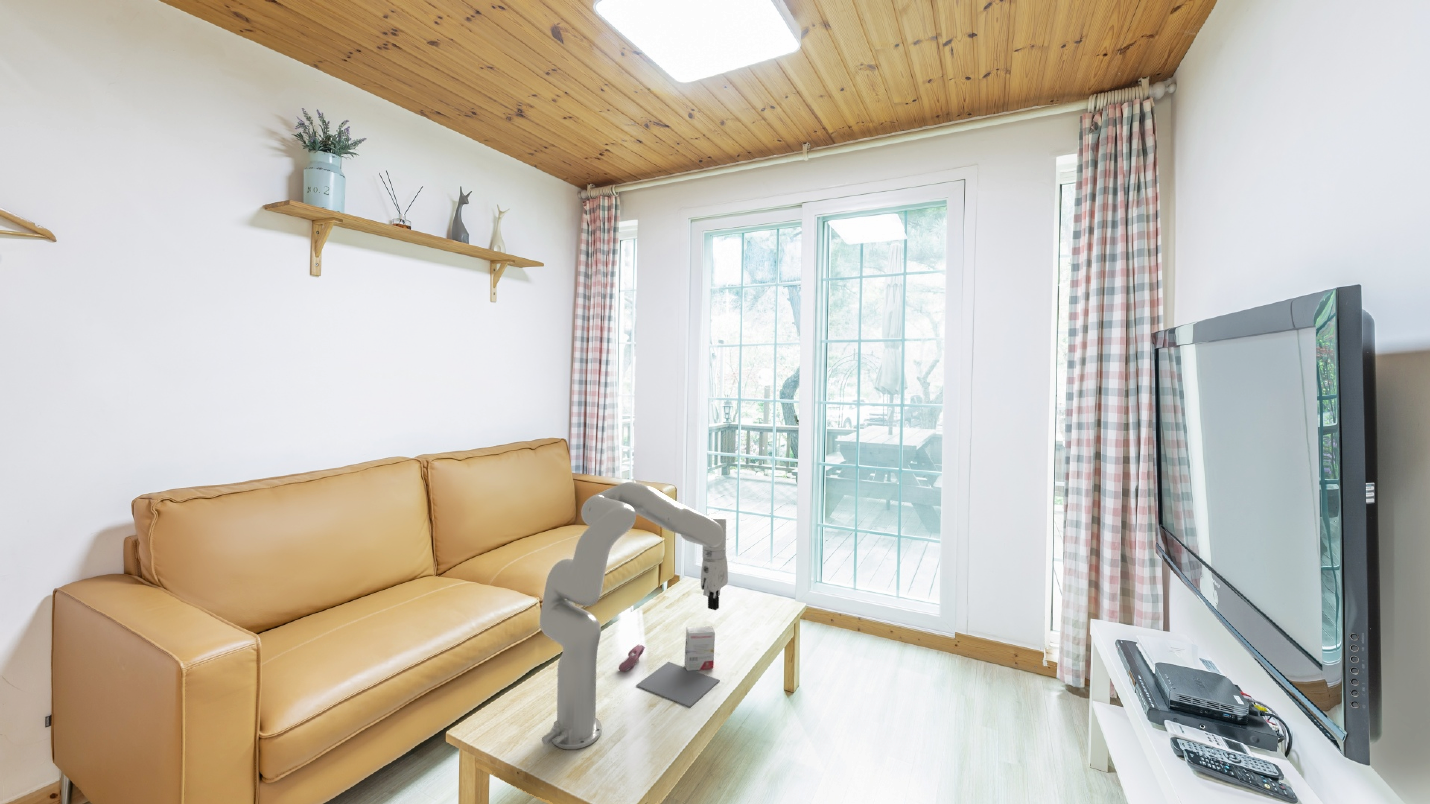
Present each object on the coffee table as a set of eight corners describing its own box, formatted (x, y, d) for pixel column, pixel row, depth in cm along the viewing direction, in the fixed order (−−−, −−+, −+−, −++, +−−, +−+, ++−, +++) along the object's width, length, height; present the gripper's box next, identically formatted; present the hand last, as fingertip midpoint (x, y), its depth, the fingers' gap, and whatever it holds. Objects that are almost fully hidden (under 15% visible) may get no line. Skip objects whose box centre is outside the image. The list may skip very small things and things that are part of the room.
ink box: (710, 662, 177) (712, 625, 177) (713, 669, 172) (715, 632, 172) (683, 663, 175) (685, 626, 175) (686, 671, 170) (688, 633, 170)
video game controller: (629, 678, 169) (639, 659, 168) (616, 670, 170) (626, 651, 169) (639, 662, 179) (649, 644, 178) (627, 654, 179) (637, 636, 178)
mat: (690, 708, 152) (690, 706, 152) (636, 686, 162) (636, 685, 162) (719, 681, 166) (719, 680, 166) (668, 662, 176) (668, 661, 176)
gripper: (711, 562, 170) (711, 620, 171) (735, 548, 183) (734, 603, 184) (691, 557, 174) (690, 614, 175) (716, 544, 186) (715, 597, 188)
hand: (713, 608), depth 179 cm, fingers closed
